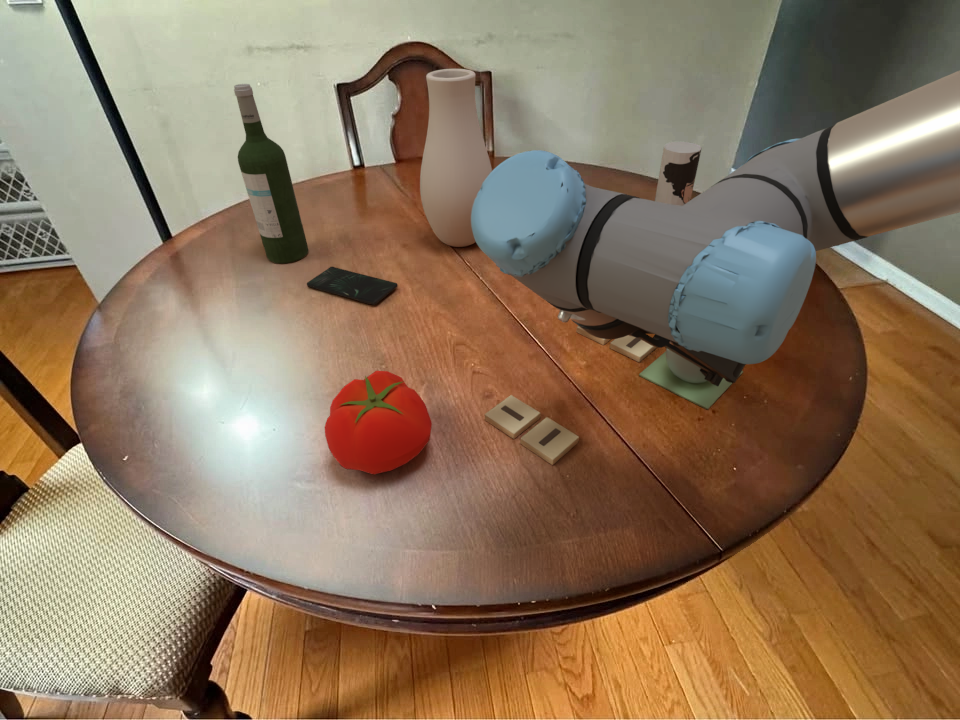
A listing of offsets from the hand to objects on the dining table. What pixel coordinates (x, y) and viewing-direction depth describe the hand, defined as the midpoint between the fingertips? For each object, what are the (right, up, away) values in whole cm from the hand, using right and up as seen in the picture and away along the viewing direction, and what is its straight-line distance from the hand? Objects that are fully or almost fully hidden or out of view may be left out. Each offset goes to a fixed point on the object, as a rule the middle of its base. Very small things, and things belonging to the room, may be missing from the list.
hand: (664, 348), depth 64 cm
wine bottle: (-58, +19, +44) cm, 75 cm away
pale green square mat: (+3, -1, +16) cm, 16 cm away
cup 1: (+17, +27, +50) cm, 59 cm away
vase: (-25, +22, +46) cm, 57 cm away
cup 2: (+8, -3, +12) cm, 15 cm away
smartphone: (-43, +11, +33) cm, 56 cm away
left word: (-15, -10, +5) cm, 19 cm away
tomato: (-33, -12, +4) cm, 35 cm away
